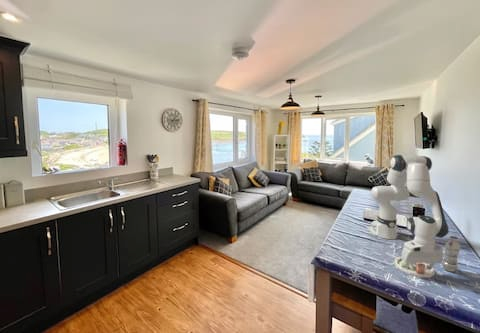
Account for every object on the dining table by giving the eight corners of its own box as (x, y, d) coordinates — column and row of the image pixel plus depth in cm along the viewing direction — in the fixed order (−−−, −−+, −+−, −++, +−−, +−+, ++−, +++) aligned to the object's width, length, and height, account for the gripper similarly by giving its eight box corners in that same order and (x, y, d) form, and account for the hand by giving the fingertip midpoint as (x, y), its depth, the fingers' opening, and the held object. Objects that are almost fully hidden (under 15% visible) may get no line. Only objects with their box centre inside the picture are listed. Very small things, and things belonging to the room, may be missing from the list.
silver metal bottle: (456, 269, 129) (461, 237, 126) (457, 275, 124) (462, 241, 121) (441, 265, 133) (446, 233, 130) (441, 270, 128) (446, 237, 125)
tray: (387, 260, 138) (388, 256, 138) (417, 260, 138) (417, 257, 138) (409, 278, 120) (409, 275, 120) (442, 279, 120) (443, 275, 120)
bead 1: (399, 265, 131) (400, 257, 130) (406, 265, 131) (406, 257, 130) (404, 269, 127) (405, 261, 127) (410, 269, 127) (411, 261, 127)
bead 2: (414, 270, 126) (415, 262, 125) (420, 270, 126) (422, 262, 125) (419, 274, 122) (420, 266, 122) (426, 274, 122) (427, 266, 122)
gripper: (437, 243, 125) (434, 265, 127) (401, 242, 125) (398, 265, 127) (448, 248, 119) (444, 272, 121) (409, 248, 119) (406, 272, 121)
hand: (420, 268), depth 124 cm, fingers open, 8 cm apart
